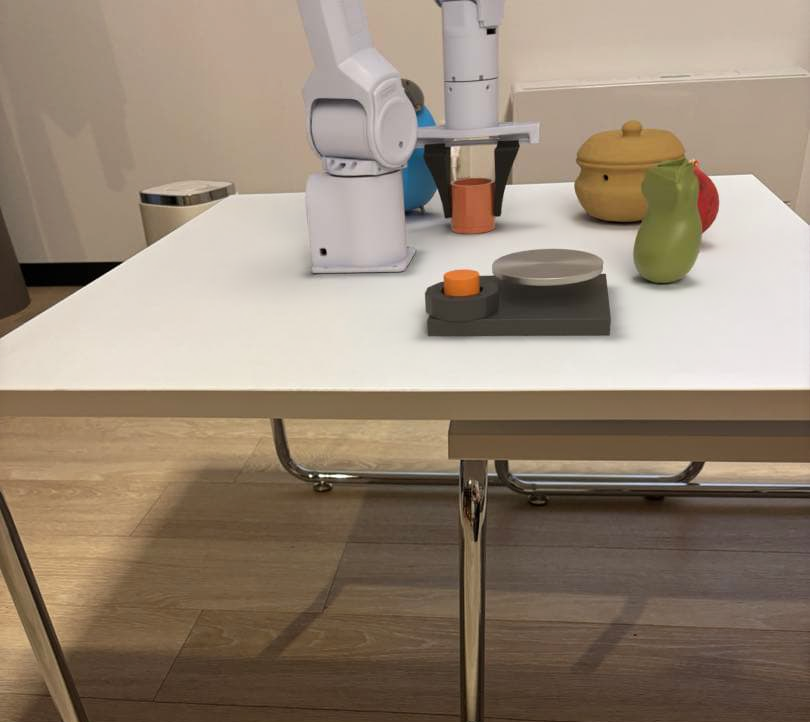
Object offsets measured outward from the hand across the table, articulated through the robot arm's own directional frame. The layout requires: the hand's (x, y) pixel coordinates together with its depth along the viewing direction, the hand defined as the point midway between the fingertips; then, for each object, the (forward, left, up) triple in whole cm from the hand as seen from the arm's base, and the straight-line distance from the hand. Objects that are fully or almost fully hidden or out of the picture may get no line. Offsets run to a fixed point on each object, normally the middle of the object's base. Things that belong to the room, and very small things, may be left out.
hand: (473, 215), depth 94 cm
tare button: (+2, -34, +1) cm, 34 cm away
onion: (+22, -10, -2) cm, 24 cm away
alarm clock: (-11, +9, -2) cm, 14 cm away
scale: (+7, -30, -1) cm, 31 cm away
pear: (+19, -22, -2) cm, 29 cm away
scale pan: (+9, -29, +2) cm, 30 cm away
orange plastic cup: (0, 0, -1) cm, 1 cm away
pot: (+17, +3, -2) cm, 17 cm away
